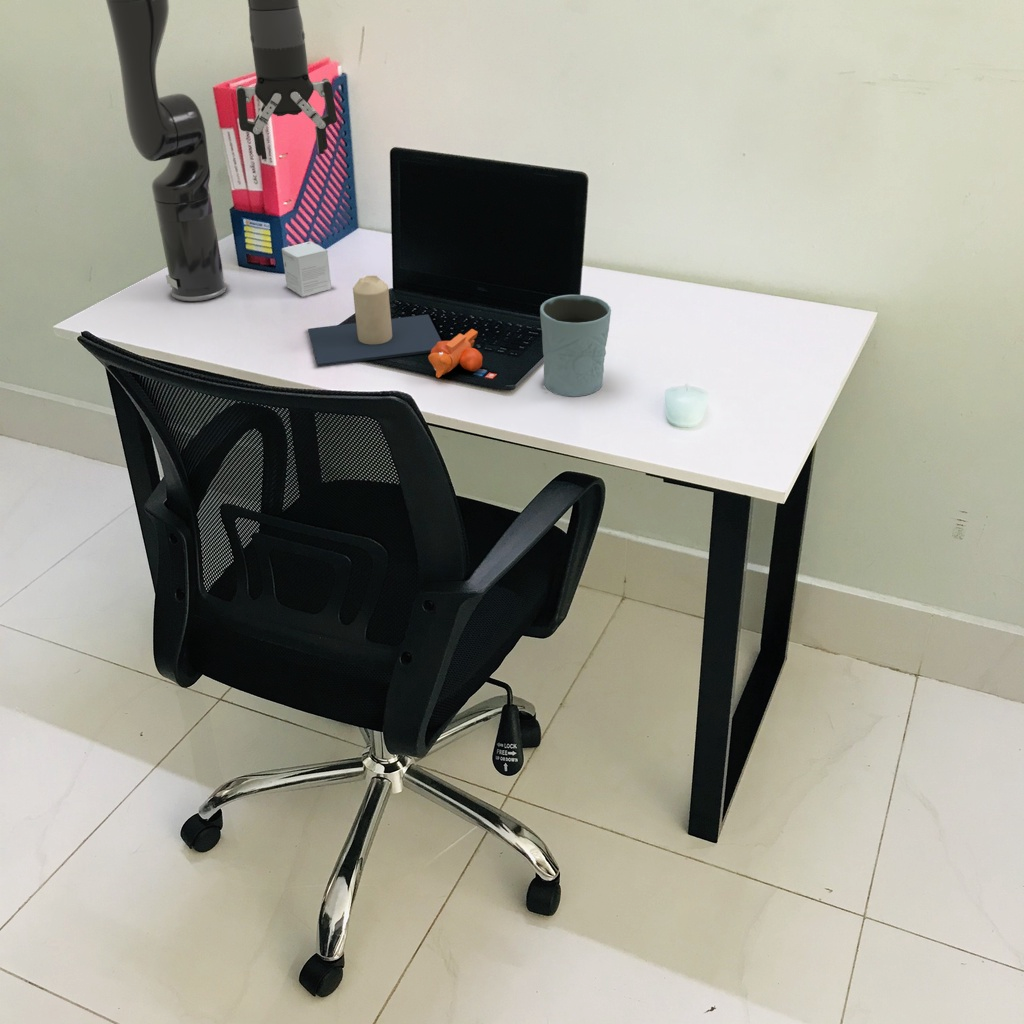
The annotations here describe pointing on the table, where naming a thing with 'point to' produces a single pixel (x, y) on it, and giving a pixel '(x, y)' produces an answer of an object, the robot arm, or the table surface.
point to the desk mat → (346, 347)
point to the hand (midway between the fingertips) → (292, 155)
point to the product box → (306, 268)
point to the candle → (372, 310)
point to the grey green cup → (574, 343)
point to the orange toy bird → (456, 354)
